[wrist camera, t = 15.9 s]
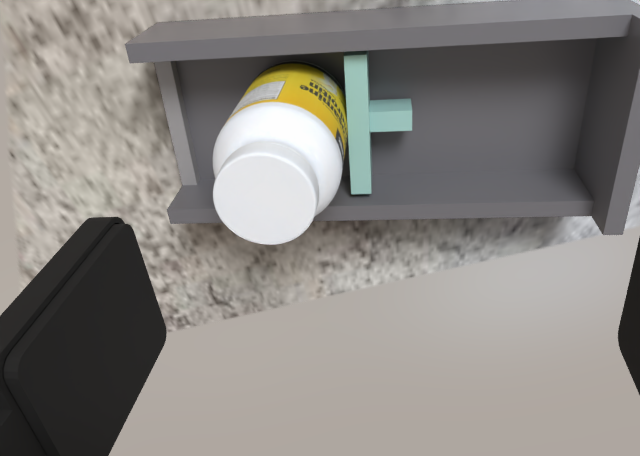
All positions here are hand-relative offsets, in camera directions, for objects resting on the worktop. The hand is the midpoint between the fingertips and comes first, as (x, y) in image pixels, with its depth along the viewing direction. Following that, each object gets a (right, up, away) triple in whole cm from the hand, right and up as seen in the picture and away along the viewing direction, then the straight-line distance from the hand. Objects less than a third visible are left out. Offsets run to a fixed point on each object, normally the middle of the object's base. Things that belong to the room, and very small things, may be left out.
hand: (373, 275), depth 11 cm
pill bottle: (-2, +8, +24) cm, 26 cm away
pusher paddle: (+3, +8, +23) cm, 25 cm away
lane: (+3, +9, +24) cm, 26 cm away
